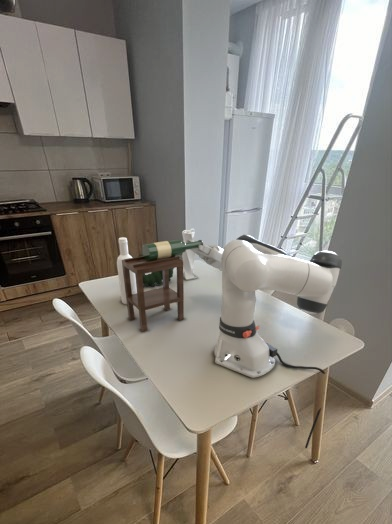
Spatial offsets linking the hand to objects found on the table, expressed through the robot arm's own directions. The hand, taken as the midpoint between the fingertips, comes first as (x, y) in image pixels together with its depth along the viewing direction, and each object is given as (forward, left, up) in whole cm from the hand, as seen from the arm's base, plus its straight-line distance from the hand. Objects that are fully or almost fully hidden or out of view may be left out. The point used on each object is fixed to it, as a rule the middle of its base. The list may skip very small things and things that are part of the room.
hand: (192, 244), depth 125 cm
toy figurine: (+35, -7, -30) cm, 47 cm away
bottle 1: (+26, +17, -30) cm, 43 cm away
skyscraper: (+30, -27, -30) cm, 51 cm away
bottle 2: (+2, +9, -4) cm, 10 cm away
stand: (+3, +19, -30) cm, 35 cm away
